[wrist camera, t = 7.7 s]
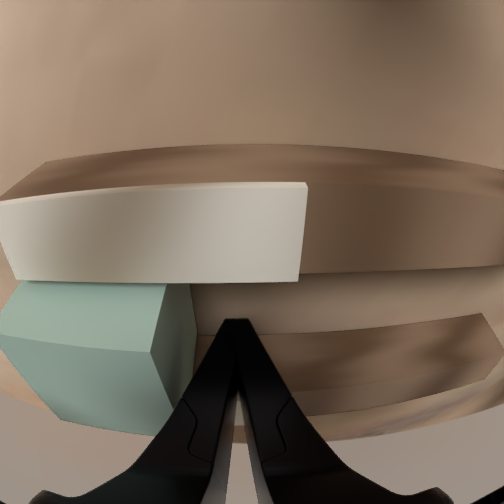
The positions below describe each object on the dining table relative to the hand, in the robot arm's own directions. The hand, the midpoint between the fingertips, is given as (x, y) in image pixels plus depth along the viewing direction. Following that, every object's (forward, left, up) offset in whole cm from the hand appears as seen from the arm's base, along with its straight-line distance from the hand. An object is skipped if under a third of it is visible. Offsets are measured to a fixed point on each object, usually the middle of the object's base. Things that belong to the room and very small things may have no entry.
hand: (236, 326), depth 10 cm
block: (+4, 0, -2) cm, 5 cm away
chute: (-4, 0, -2) cm, 4 cm away
